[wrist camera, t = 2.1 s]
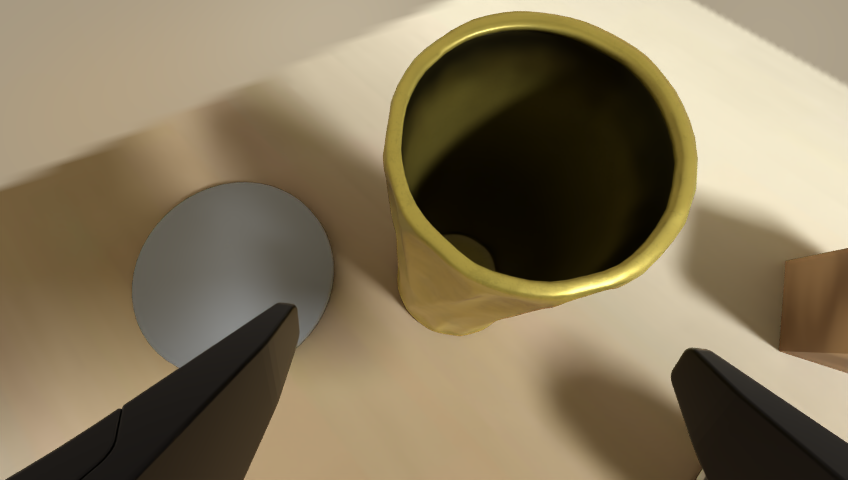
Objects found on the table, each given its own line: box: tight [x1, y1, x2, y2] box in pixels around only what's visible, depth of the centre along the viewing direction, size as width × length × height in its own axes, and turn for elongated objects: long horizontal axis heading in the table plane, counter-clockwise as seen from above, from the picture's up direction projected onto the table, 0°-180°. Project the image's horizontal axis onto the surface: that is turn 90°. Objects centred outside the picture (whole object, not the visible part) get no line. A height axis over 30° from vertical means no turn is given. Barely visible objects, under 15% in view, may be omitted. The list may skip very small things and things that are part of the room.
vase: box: [383, 11, 698, 336], centre depth 13 cm, size 6×6×14 cm
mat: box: [132, 182, 334, 368], centre depth 19 cm, size 10×10×1 cm
